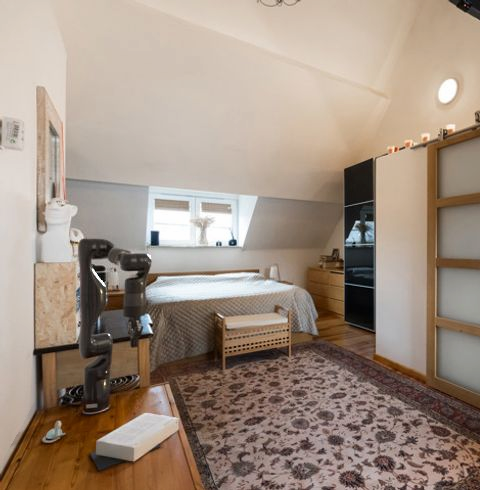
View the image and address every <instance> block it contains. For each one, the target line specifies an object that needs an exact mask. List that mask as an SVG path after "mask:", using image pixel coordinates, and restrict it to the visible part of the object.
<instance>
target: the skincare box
mask: <svg viewBox="0 0 480 490" xmlns="http://www.w3.org/2000/svg"><path fill="white" fill-rule="evenodd" d="M179 423H180V418H179V417H175V416H168V415H162V414H156V413H150V412H144V413H142V414H140V415H138V416H136V417H135V418H133V419H131V420H130V421H128V422H126V423H125V424H123V425H120V426H119V427H118V428H116V429H115V430H113V431H111V432H109V433H107V434H106V435H104V436H102V437H101V438H99V439H97V440H96V441H95V451H96V454H97V455H102V456H107V457H113V458H118V459H123V460H127V461H129V462H136V461H138V460H139V459H140V458H141V457H143V456H144V455H145V454H148V453H149V452H148V451H149V450H151V449H152V448H154V447H155V446H156V445H160V444H161V443H163V442H164V441H165V440H166V439H168V438H169V437H170V436H173V434H174V433H176V432H178V431H179V429H180V424H179ZM147 452H148V453H147Z"/></svg>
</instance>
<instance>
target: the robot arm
mask: <svg viewBox="0 0 480 490" xmlns="http://www.w3.org/2000/svg"><path fill="white" fill-rule="evenodd" d="M77 257H78V258H77V259H78V265H79V266H78V267H79V276H80V277H79V278H80V280H79V281H80V283H79V286H80V287H79V304H80V305H79V307H80V329H79V339H78V341H79V342H78V351H79V355H80V357H81V358H82V359H84V360H88V359H92V358H94V360H92V361H91V362H89V363H87V364H86V365H85V366H84V367H83V387H82V388H83V389H82V396H81V402H79V403H73V402H74V398H73V397H71V396H69V395H61V396H60V397H59V400H62V399H68V400H70V401H68V405H70V406H73V407H76V406H82V414H83V415H85V416H93V415H98V414H102V413H105V412H106V411H108V410H109V409H110V408H111V404H110V403H111V365H112V359H113V350H114V349H113V348H114V343H113V337H112V335H111V334H110V333H108V332H103V333H98V334H94V328H95V325H96V323H97V321H98V320H99V318H100V317H101V315H102V314H103V313H104V311H105V308H106V307H107V305H108V289H107V286H106V285H105V283H104V282H103V280H101V278H100V277H99V276H98V274H97V273H96V272H95V269H94V267H93V262H92V261H94V260H105V259H107V261H109V263H111V264H113V265H115V266H118V267H119V268H120V270H121V271H123V272H136V273H135V275H133V276H130V277H127V278H125V280H124V288H123V289H124V290H123V294H124V295H123V304H122V305H123V306H122V308H123V311H122V315H123V317H125V318H128V320H126V322H125V324H126V330H127V335H128V336H129V338H130V339H129V340H130V342H129V343H130V345H129V346H130V348H132V349H133V348H137V347H139V338H140V337H141V335H142V332H143V330H144V325H142V324H143V320H142V318H141V317H144V316H146V314H147V279H148V276H149V273H150V270H151V267H152V258H151V255H149V254H148V253H144V252H138V253H135V252H132V251H131V250H128V249H125V248H123V247H119V246H117V245H116V244H114V242H112V241H111V240H109V239H106V238H93V237H92V238H90V237H88V238H87V237H86V238H80V239H79V241H78V244H77Z"/></svg>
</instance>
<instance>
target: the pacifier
mask: <svg viewBox="0 0 480 490" xmlns="http://www.w3.org/2000/svg"><path fill="white" fill-rule="evenodd" d="M61 427H62V422H61V420H57V421H56V422H55V424H54V427H53V428H51V429H50V430H49V431H47V433H46V435H45V436H44V437H43V438H42V439H41V440H42V442H43V443H45V444H51V443H55V442H56V441H58V440H60V439H61V437H62V436H64V435H66V432H63V429H62V428H61Z"/></svg>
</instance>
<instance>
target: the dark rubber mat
mask: <svg viewBox="0 0 480 490" xmlns="http://www.w3.org/2000/svg"><path fill="white" fill-rule="evenodd" d="M160 448H161V446H160V444H158V445H156V446H155V447H154V448H152V449H151V450H149V451H148V452H147V453H146V454H148V453H150V452H153V451H155V450H158V449H160ZM89 455H90V458H91V459H92V461H93V463H94V465H95V466H96V468H97V470H98V472H102V471H104V470H107V469H109V468H112V467H114V466H117V465H120V464H122V463H125V462H127V461H128V460H123V459H118V458H113V457H107V456H102V455H97V454H96V450H95V451H92V452H90V453H89Z"/></svg>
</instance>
